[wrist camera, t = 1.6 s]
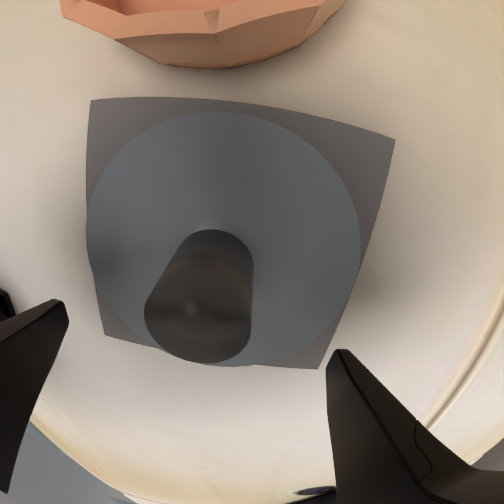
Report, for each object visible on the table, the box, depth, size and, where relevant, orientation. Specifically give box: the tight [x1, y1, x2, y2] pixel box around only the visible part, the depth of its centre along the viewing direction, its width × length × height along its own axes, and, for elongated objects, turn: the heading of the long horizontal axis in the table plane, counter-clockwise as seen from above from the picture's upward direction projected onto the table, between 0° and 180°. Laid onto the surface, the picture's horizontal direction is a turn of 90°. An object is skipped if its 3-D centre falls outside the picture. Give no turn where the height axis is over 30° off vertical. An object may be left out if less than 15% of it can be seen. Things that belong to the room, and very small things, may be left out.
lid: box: [86, 111, 361, 367], centre depth 11 cm, size 13×13×5 cm
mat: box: [86, 97, 395, 369], centre depth 13 cm, size 14×14×1 cm
